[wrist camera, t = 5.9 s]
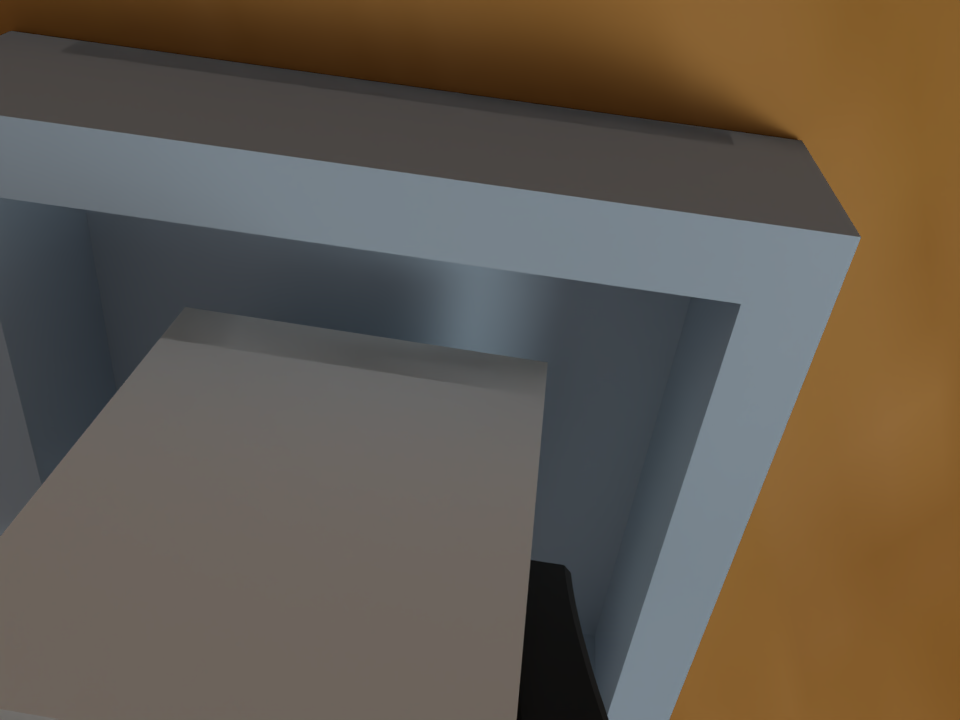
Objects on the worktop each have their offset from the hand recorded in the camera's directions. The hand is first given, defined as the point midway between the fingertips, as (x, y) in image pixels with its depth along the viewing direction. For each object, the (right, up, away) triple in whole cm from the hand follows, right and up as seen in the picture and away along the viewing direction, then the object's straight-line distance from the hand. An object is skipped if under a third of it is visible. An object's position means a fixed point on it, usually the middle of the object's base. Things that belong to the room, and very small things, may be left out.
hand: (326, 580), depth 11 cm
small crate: (0, +1, +1) cm, 2 cm away
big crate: (0, +2, +3) cm, 4 cm away
